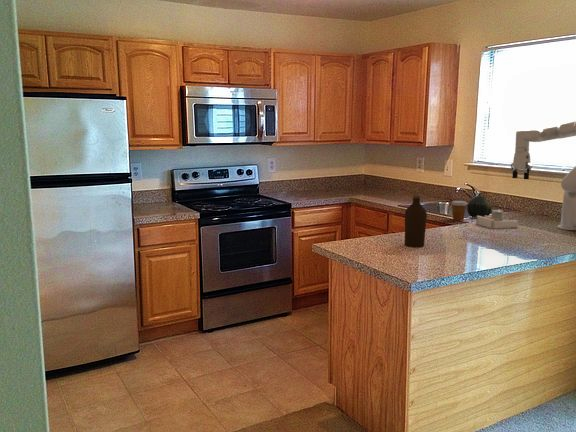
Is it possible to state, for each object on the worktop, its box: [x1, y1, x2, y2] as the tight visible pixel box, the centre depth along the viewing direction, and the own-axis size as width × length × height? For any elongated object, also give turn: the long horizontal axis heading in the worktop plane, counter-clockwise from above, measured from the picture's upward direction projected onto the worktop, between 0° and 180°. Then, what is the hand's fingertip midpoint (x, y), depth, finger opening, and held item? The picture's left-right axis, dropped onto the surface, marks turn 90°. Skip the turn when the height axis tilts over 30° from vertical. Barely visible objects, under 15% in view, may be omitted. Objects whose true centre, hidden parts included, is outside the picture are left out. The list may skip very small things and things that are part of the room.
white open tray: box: [475, 216, 519, 229], centre depth 307 cm, size 15×17×5 cm
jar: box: [491, 209, 504, 221], centre depth 306 cm, size 6×6×9 cm
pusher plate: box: [484, 215, 499, 221], centre depth 306 cm, size 12×2×5 cm, turn 14°
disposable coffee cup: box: [450, 200, 468, 222], centre depth 324 cm, size 10×10×12 cm
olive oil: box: [404, 194, 428, 248], centre depth 251 cm, size 11×11×25 cm
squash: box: [466, 194, 493, 218], centre depth 337 cm, size 14×15×15 cm
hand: (520, 178), depth 313 cm, fingers open, 9 cm apart
